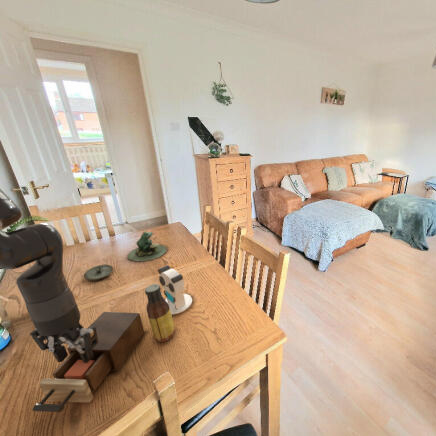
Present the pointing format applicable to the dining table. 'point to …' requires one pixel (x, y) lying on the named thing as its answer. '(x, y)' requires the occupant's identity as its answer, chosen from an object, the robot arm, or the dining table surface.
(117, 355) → the cabinet
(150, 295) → the sauce bottle
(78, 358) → the drawer
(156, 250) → the frog figurine
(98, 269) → the lid
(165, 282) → the panda figurine
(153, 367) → the dining table surface
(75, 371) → the block
